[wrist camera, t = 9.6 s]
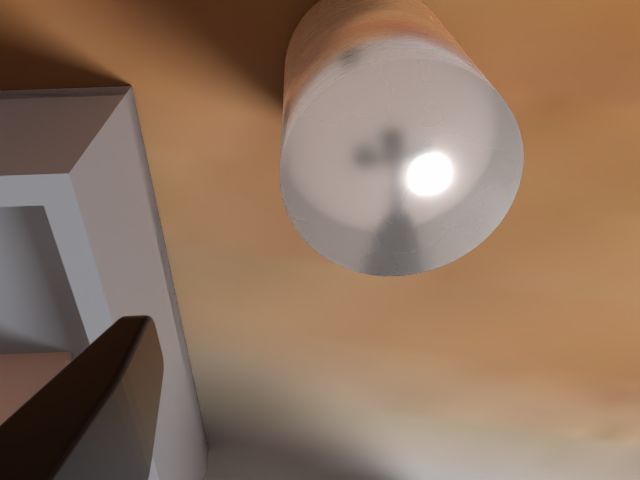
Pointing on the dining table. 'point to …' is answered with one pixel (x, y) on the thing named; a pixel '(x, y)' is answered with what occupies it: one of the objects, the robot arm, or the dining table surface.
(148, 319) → the robot arm
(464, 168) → the aluminium cylinder
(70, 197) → the tote
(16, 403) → the terracotta cube
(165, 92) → the dining table surface
